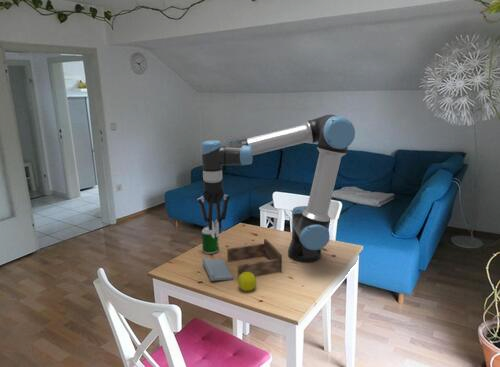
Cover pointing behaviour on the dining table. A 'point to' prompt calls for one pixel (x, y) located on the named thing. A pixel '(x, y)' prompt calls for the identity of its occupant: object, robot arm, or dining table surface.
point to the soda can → (209, 241)
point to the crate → (256, 251)
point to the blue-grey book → (217, 269)
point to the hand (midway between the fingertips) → (215, 236)
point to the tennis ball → (247, 281)
